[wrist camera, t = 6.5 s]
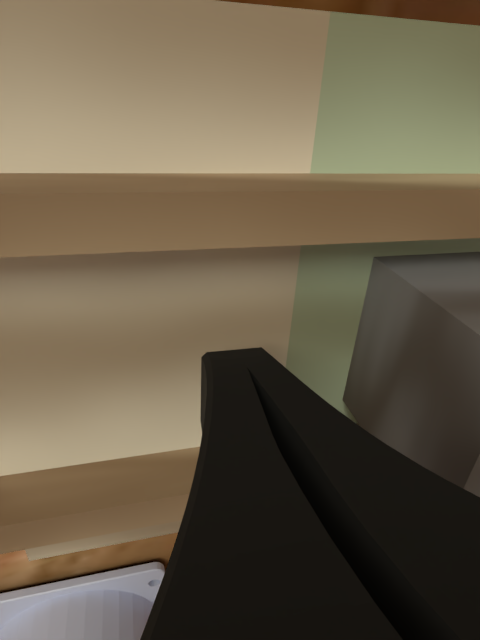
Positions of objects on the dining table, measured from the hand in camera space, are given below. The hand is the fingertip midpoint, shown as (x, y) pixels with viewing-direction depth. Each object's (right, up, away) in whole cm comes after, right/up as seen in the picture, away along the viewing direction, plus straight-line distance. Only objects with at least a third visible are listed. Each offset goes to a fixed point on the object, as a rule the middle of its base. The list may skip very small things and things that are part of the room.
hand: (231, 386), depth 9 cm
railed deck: (+4, +3, +5) cm, 7 cm away
